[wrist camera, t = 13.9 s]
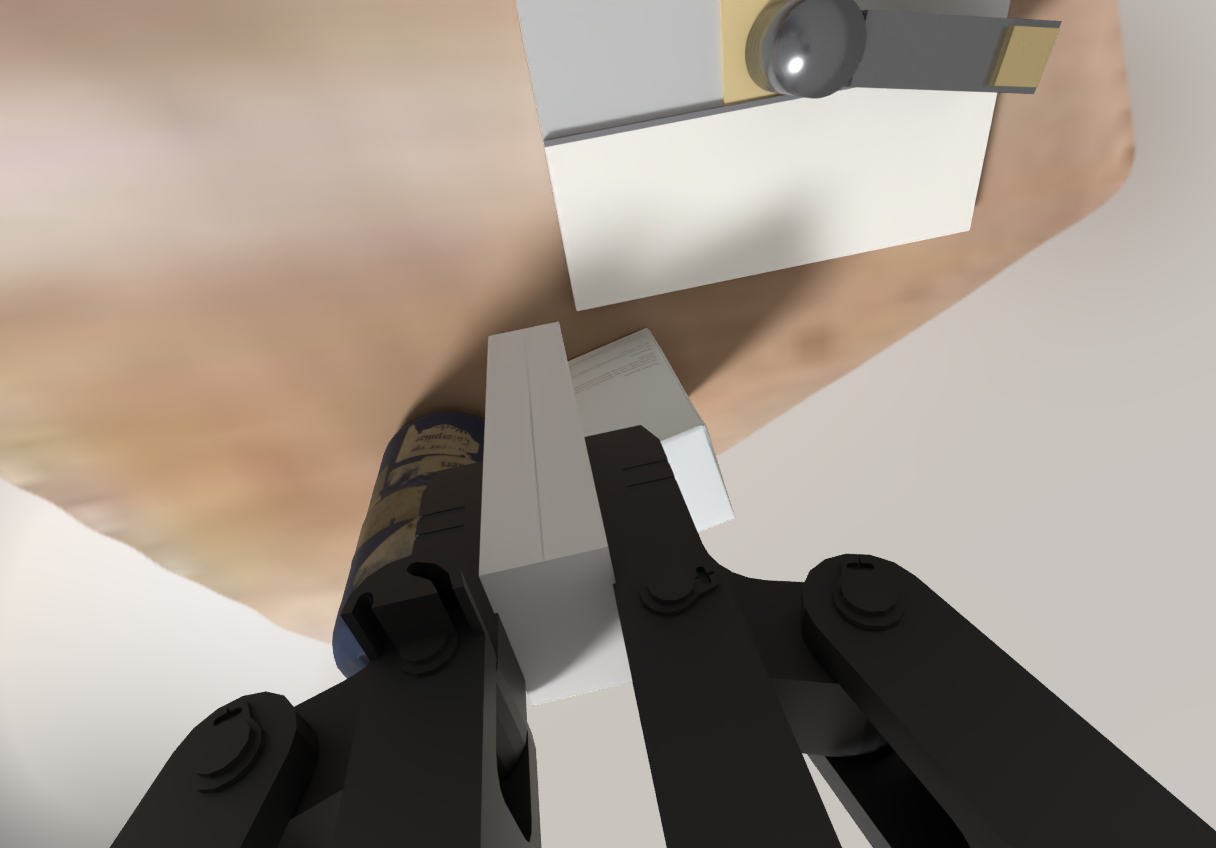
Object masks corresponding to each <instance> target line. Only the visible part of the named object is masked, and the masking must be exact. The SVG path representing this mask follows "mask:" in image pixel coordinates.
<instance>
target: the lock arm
mask: <svg viewBox="0 0 1216 848" xmlns="http://www.w3.org/2000/svg"><path fill="white" fill-rule="evenodd" d="M1060 24H1061V21H1049V20H1032V19H1015V18H998V17H982V16H965V15H948V14H931V13H914V12H898V11H881V10H861V9H860V8H859V6H858V5H857V4H856V2H855V1H854V0H783V1H779V2H776V3H774V4H772V5H770V6H769V7H767V8H766V9H765V10H764V11H763V12H762V13H761V14H760V15H759V16H758V17H757V19H756V20H755V21H754V23H753V25H752V27H751V29H750V31H749V34H748V37H747V40H746V46H745V62H746V67H747V70H748V73H749V75H750V77H751V79H752V80H753V81H754V83H755V84H756V85H757V86H758V87H760V88H761V89H763V90H765V91H768V92H773V93H780V94H786V95H792V96H799V97H805V98H812V99H816V98H823V97H826V96H829V95H831V94H833V93H835V92H837V91H838V90H840V89H841V88H842V87H843V86H844V87H859V88H886V89H913V90H940V91H967V92H994V93H1021V94H1034V92H1035V90H1036V87H1038V85H1039V82H1040V79H1041V77H1042V74H1043V72H1044V69H1045V66H1046V64H1047V61H1048V58H1049V56H1050V53H1051V51H1052V48H1053V45H1054V43H1055V40H1056V37H1057V35H1058V32H1059V30H1060V28H1059V27H1060Z"/></svg>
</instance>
